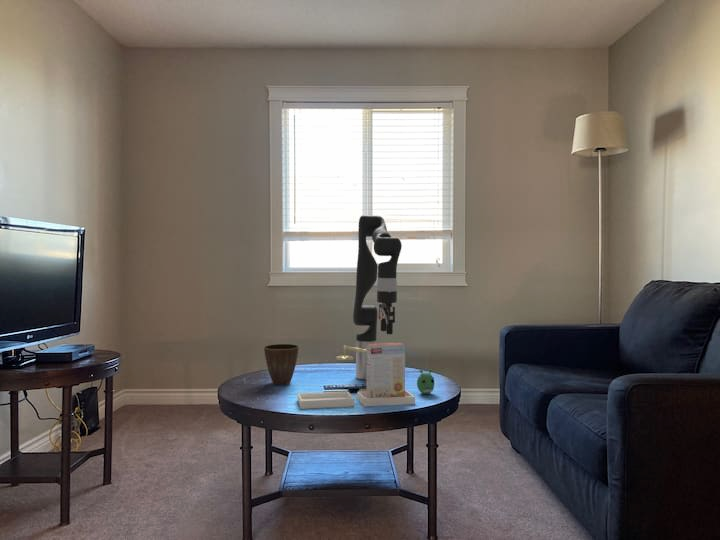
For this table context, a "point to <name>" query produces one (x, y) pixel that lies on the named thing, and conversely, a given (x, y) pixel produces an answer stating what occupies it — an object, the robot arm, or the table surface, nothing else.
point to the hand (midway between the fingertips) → (386, 332)
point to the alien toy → (425, 382)
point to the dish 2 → (385, 400)
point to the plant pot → (281, 362)
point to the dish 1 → (325, 399)
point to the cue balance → (350, 356)
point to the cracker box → (385, 370)
